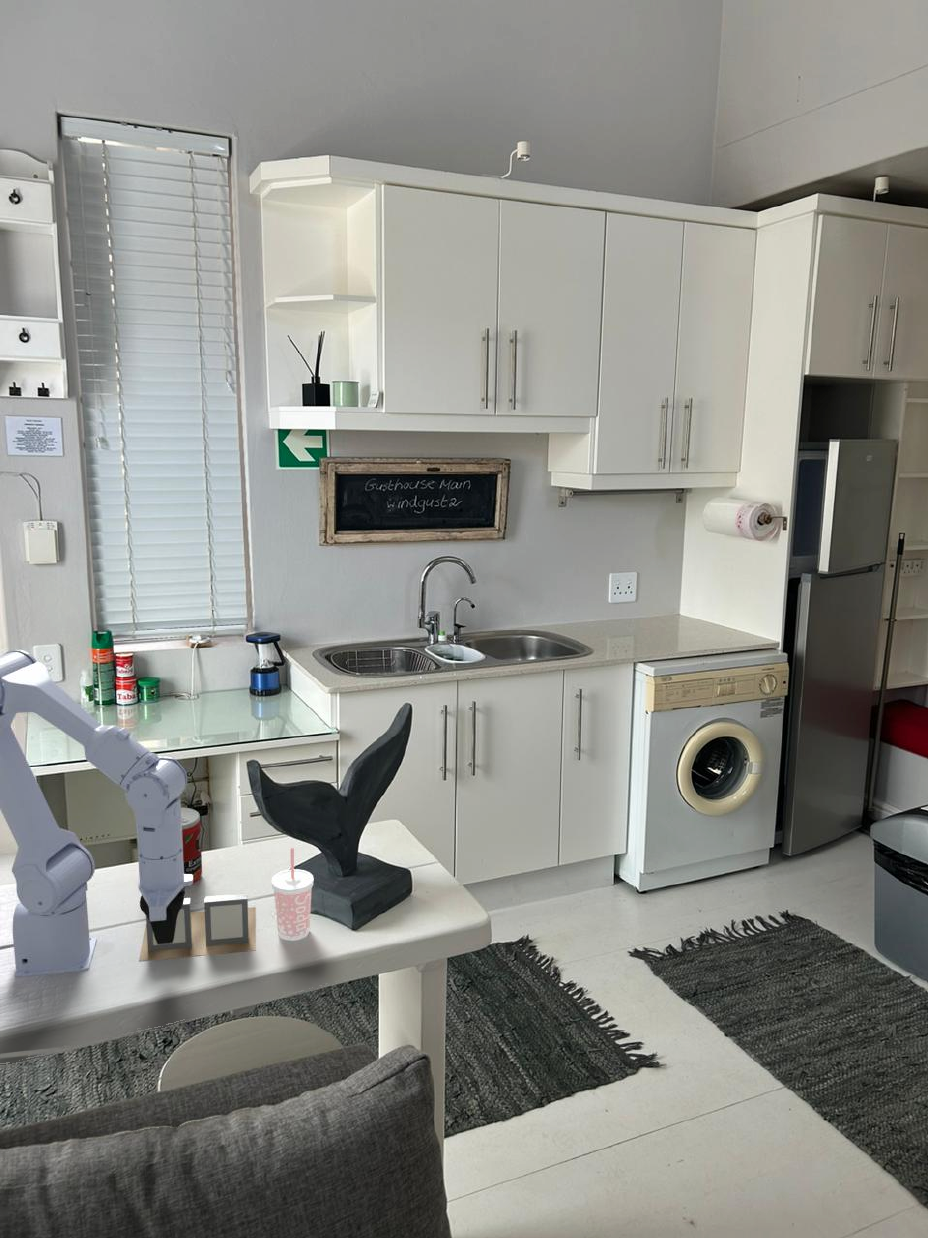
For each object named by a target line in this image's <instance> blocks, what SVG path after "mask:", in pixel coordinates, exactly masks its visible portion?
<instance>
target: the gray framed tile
mask: <svg viewBox="0 0 928 1238" xmlns="http://www.w3.org/2000/svg"><path fill="white" fill-rule="evenodd" d="M248 898H249V895H248V892H246V893H234V894H233V893H232V894H224V895H223V894H221V895H219V894H218V895H211V896H210V895H209V896H204V901H203V902H204V903H203V906H204V912H205V933H206V946H215V945H226V944H237V943H248V942H249V928H248V908H249V902H248V900H249V899H248Z"/></svg>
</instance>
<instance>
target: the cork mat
mask: <svg viewBox="0 0 928 1238" xmlns="http://www.w3.org/2000/svg"><path fill="white" fill-rule="evenodd" d="M256 909H257V908H256V907H248V928H249V942H248V943H237V944H226V945H215V946H206V933H205V911H195V912H191V924H192V948H183V949H172V950H161V951H150V952H148V944H147V927H146V926H145V929H144V934H143V939H142V943H141V949H140V954H139V959H138V962H148V961H157V960H167V959H168V960H169V959H170V960H171V959H180V958H181V959H182V958H192V957H199V956H213V955H221V954H231V953H243V952H252V951H253V952H254V951H257V945H256V942H257V939H256V937H257V932H256V931H257V929H256V927H257V921H256V920H257V919H256V916H257V915H256V913H257V912H256Z"/></svg>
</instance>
